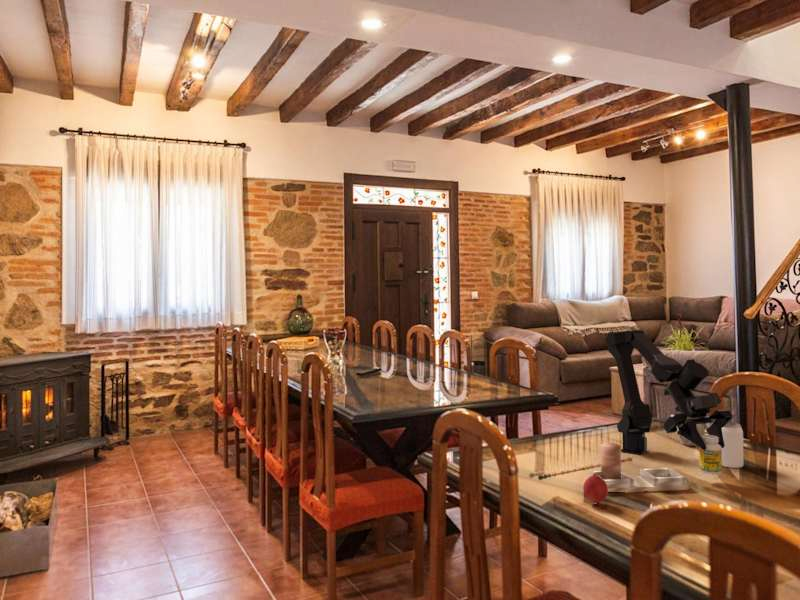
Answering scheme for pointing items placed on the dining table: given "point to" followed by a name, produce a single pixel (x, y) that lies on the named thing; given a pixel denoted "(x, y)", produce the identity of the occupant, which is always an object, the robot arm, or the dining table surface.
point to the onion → (595, 488)
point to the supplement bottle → (711, 455)
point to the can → (732, 446)
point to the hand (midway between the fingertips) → (714, 448)
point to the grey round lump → (688, 442)
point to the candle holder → (645, 482)
